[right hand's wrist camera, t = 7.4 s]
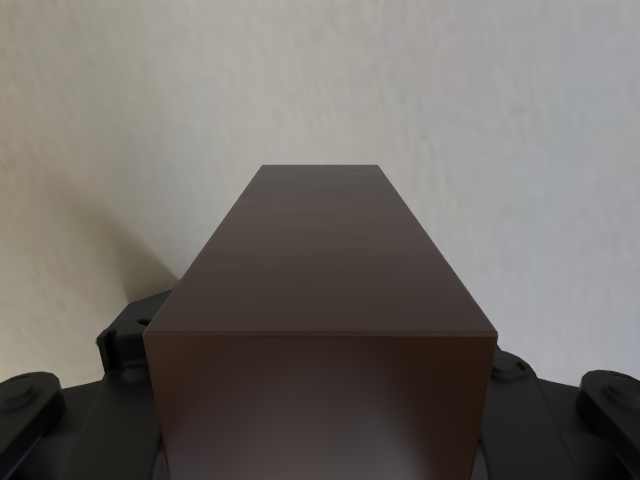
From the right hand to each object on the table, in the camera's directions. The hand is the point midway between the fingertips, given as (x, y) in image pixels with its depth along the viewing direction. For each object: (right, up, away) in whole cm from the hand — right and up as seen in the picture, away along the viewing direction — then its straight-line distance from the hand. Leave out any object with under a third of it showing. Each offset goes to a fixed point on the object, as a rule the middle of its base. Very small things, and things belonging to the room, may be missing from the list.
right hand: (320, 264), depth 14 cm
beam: (0, -8, +4) cm, 9 cm away
